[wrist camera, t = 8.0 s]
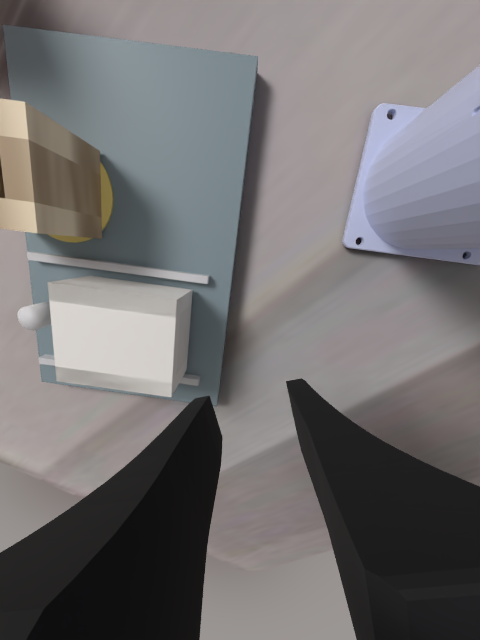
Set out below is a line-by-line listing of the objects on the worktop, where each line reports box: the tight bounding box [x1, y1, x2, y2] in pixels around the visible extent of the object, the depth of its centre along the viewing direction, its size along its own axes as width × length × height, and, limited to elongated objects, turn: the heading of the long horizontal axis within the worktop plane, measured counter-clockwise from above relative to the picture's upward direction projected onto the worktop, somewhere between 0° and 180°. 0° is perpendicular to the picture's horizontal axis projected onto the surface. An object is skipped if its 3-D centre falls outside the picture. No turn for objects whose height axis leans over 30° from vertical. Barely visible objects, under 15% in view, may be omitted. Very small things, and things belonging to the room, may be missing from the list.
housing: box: [48, 276, 193, 397], centre depth 16 cm, size 7×6×4 cm
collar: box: [0, 99, 102, 239], centre depth 13 cm, size 5×5×5 cm
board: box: [3, 25, 258, 406], centre depth 15 cm, size 14×22×4 cm, turn 173°
